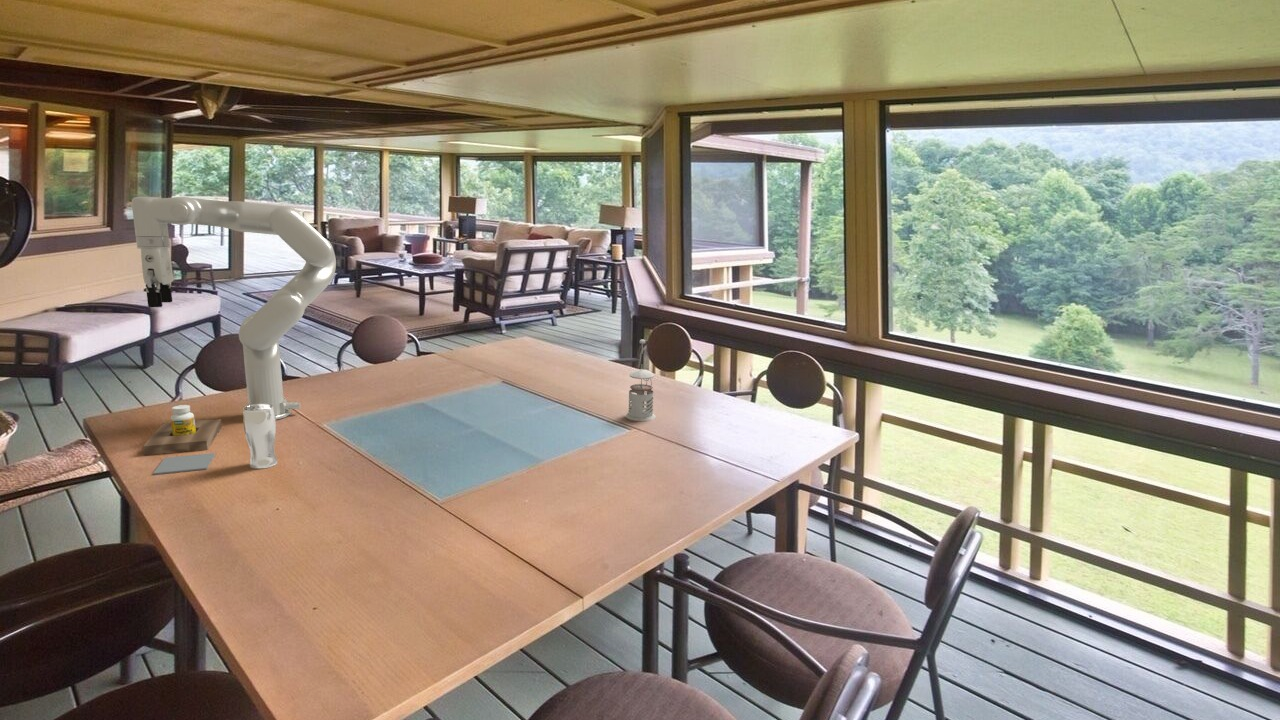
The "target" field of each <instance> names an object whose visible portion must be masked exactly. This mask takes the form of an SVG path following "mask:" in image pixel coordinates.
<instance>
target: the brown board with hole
mask: <svg viewBox="0 0 1280 720" xmlns="http://www.w3.org/2000/svg"><path fill="white" fill-rule="evenodd" d="M195 427H196V433H195V434H189V435H177V436H173V433H172V425H171V422H163V423H162V425H160V427H158V429H157V430H156V431H154V434H152V436H151V437H150V438H149V439H148V440H147V441H146V442H145V443H144V444H143V454H144V456H151V455H150V454H155V455H164V454H163V453H166V454H174V453H175V452H178V453H185V451H189V452H196V451H195V450H200V451H208V450H209V448H210V446H211V445H212V443H213V442H214V440H215V439H214V438H216V437H217V435H218V434H217V433H219V432H220V431H219V430H221V429H222V419H221V418H216V419H203V420H195Z"/></svg>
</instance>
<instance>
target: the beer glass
mask: <svg viewBox="0 0 1280 720" xmlns="http://www.w3.org/2000/svg"><path fill="white" fill-rule="evenodd" d="M276 421H277V420H275V414H274V409H273V405H272V404H267V403H261V404H253V405H249V404H248V405H245V406H244V407H243V408H242V422H243V431H244V435H245V438H246V441H247V444H248V447H249V452H250V459H249V461H250V462H249V467H250V469H254V470H255V469H256V470H263V469H268V468H272V467H274V466H276V465H277V464H278V458H277V456H276V453H275V451H276V450H275V443H276V442H275V441H276V430H277V425H276V424H277V422H276Z"/></svg>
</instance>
